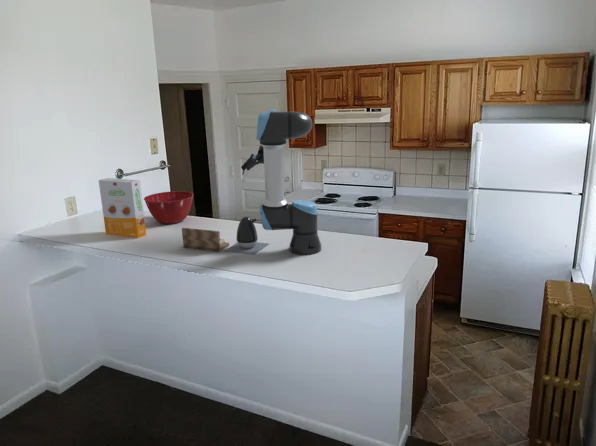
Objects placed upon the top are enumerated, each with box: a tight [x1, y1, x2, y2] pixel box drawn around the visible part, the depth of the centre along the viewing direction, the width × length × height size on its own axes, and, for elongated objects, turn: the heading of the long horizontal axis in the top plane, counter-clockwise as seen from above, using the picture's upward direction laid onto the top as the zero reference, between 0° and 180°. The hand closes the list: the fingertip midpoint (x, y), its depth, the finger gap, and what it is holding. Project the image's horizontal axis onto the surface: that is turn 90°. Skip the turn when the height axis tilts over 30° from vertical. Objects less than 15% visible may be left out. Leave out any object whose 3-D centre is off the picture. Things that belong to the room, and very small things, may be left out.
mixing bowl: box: [143, 190, 194, 225], centre depth 275 cm, size 28×28×15 cm
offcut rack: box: [181, 227, 230, 253], centre depth 227 cm, size 20×10×10 cm, turn 69°
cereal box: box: [98, 177, 147, 239], centre depth 248 cm, size 22×6×30 cm, turn 66°
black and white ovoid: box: [235, 216, 258, 248], centre depth 224 cm, size 10×10×15 cm
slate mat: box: [224, 241, 270, 255], centre depth 226 cm, size 16×16×1 cm
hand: (255, 181), depth 233 cm, fingers open, 13 cm apart
